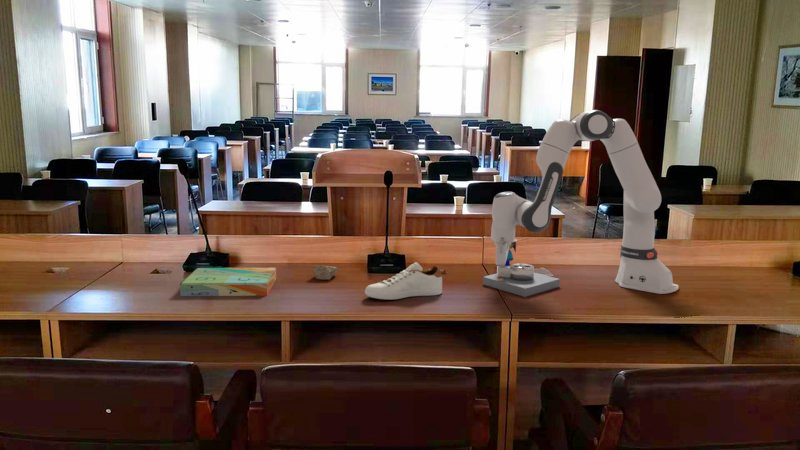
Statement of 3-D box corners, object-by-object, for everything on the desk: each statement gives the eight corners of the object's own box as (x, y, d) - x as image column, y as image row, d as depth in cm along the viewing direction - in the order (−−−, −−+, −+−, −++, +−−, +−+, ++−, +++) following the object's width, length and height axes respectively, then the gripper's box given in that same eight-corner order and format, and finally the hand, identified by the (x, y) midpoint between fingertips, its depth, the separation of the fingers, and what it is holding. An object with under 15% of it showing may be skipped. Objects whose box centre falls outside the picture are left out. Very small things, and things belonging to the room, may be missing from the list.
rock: (337, 274, 239) (324, 258, 238) (320, 287, 240) (307, 271, 239) (341, 268, 249) (328, 252, 248) (325, 280, 250) (312, 265, 249)
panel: (559, 286, 234) (559, 277, 233) (525, 296, 221) (525, 287, 221) (517, 275, 249) (517, 266, 248) (482, 284, 236) (483, 275, 236)
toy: (517, 269, 258) (519, 233, 255) (496, 269, 258) (497, 233, 255) (514, 264, 266) (516, 229, 264) (493, 264, 267) (495, 229, 264)
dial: (531, 273, 239) (531, 262, 238) (535, 280, 230) (536, 268, 229) (495, 273, 239) (496, 262, 238) (498, 279, 230) (499, 268, 229)
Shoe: (360, 296, 222) (359, 262, 219) (433, 287, 232) (433, 255, 230) (370, 304, 212) (370, 269, 210) (446, 295, 223) (446, 262, 221)
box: (197, 267, 240) (276, 267, 241) (197, 280, 241) (276, 280, 242) (179, 283, 219) (266, 283, 220) (180, 297, 220) (267, 297, 221)
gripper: (510, 241, 224) (508, 279, 226) (512, 230, 243) (511, 265, 246) (492, 240, 225) (490, 278, 228) (496, 229, 244) (495, 264, 247)
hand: (501, 271), depth 237 cm, fingers closed
